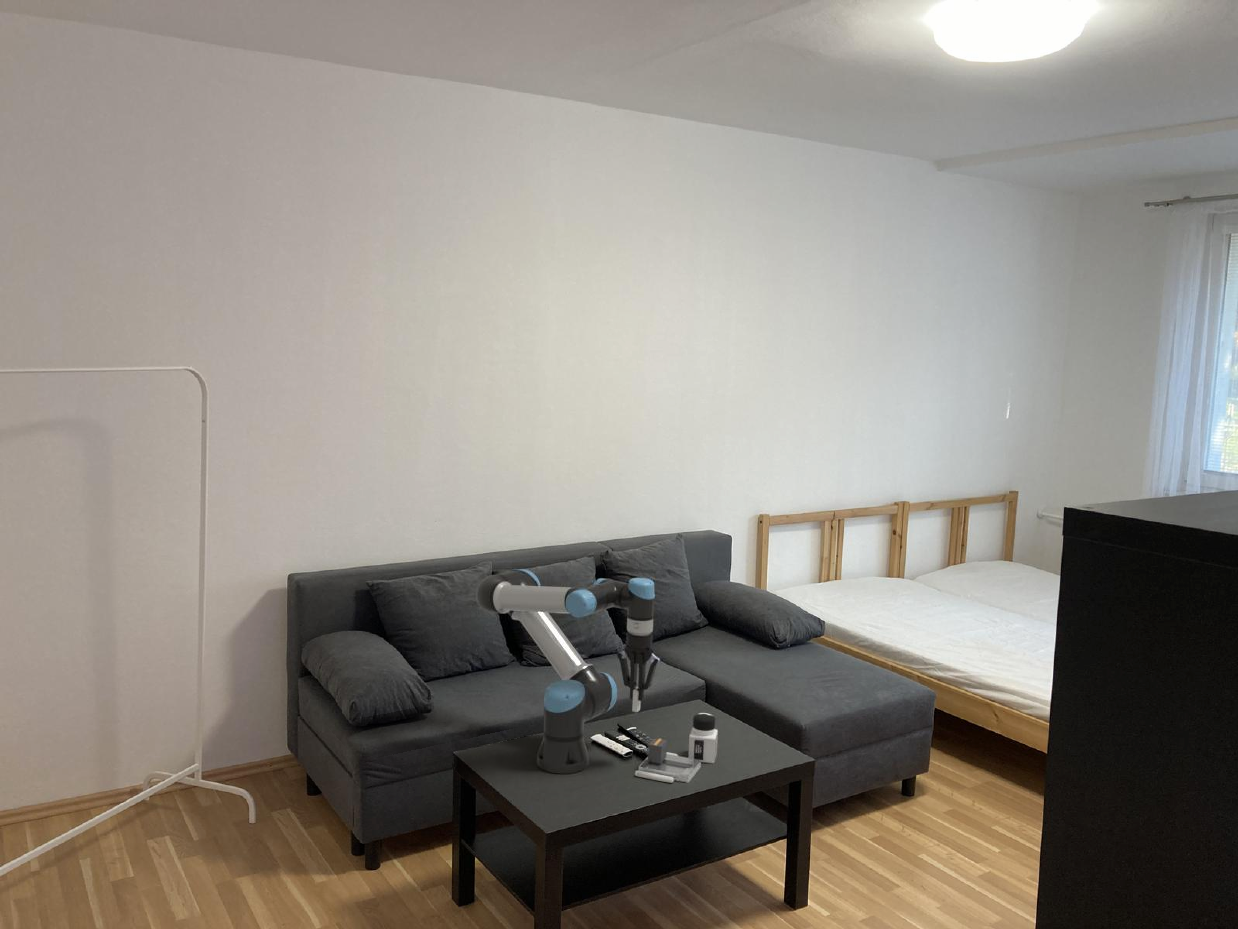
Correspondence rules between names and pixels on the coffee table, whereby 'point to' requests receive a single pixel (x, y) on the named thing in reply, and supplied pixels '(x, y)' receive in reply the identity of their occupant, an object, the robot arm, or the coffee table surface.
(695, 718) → the container
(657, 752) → the toggle
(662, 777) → the rod
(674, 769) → the panel
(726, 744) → the coffee table surface
